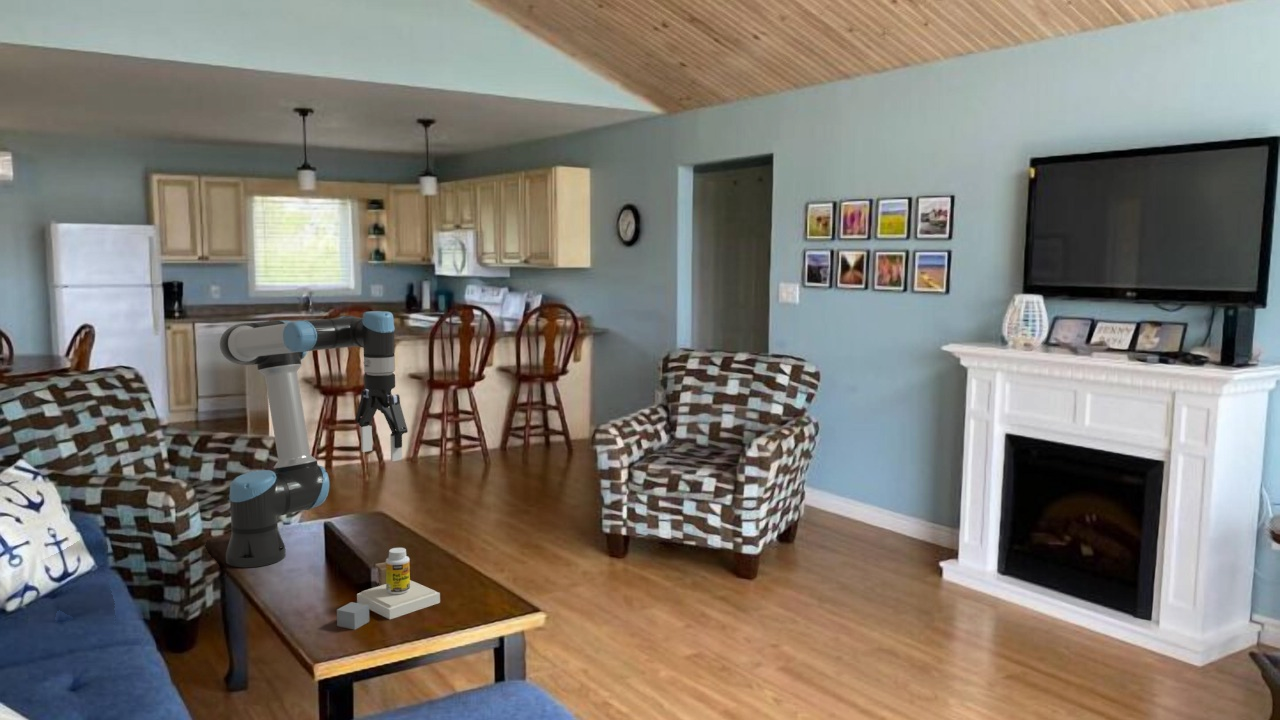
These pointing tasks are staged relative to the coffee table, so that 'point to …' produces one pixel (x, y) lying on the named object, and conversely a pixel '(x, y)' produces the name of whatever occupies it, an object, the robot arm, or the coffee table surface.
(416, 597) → the podium
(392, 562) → the supplement bottle
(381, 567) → the walnut block
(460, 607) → the coffee table surface
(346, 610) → the grey matte cube
